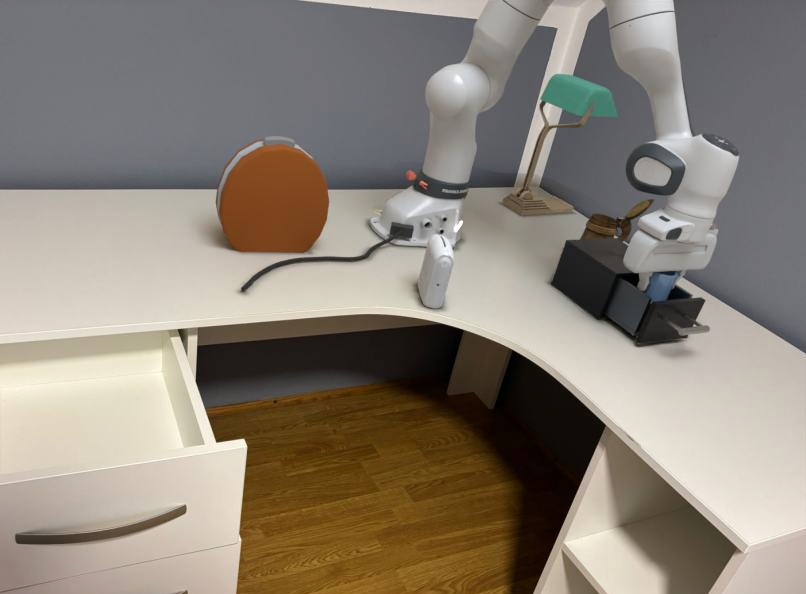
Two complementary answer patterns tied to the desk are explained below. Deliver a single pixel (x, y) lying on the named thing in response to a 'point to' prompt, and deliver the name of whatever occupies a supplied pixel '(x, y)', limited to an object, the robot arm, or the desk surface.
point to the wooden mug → (613, 223)
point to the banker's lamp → (573, 99)
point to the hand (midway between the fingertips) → (654, 288)
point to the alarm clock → (272, 197)
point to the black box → (591, 272)
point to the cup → (661, 285)
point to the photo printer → (435, 271)
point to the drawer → (654, 312)
